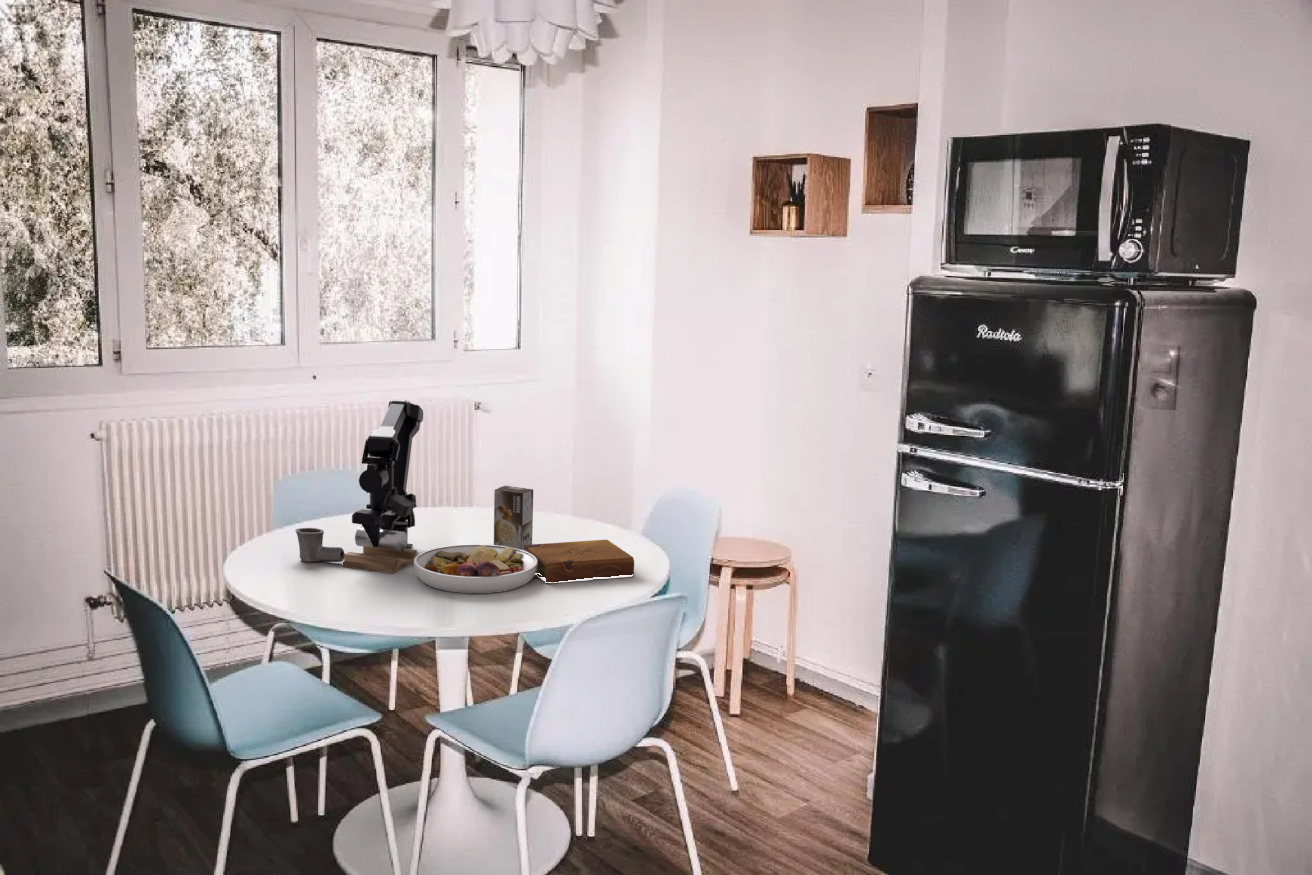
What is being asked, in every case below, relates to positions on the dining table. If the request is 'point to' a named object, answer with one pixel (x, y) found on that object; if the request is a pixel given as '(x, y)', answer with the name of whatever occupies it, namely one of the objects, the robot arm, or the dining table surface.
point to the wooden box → (580, 560)
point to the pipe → (316, 547)
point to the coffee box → (513, 517)
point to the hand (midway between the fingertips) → (381, 544)
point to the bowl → (475, 568)
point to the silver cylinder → (383, 539)
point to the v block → (380, 559)
